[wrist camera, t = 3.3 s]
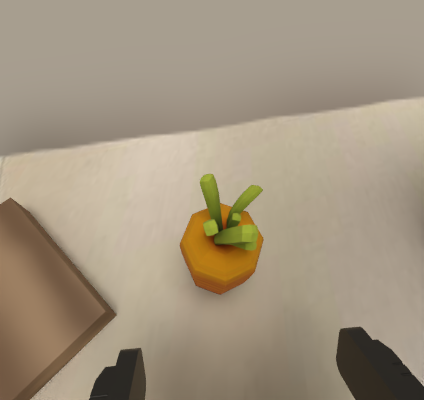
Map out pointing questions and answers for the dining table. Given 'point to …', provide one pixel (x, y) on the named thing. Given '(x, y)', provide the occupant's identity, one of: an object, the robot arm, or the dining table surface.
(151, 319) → the dining table surface
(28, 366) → the walnut plinth
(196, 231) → the carrot
